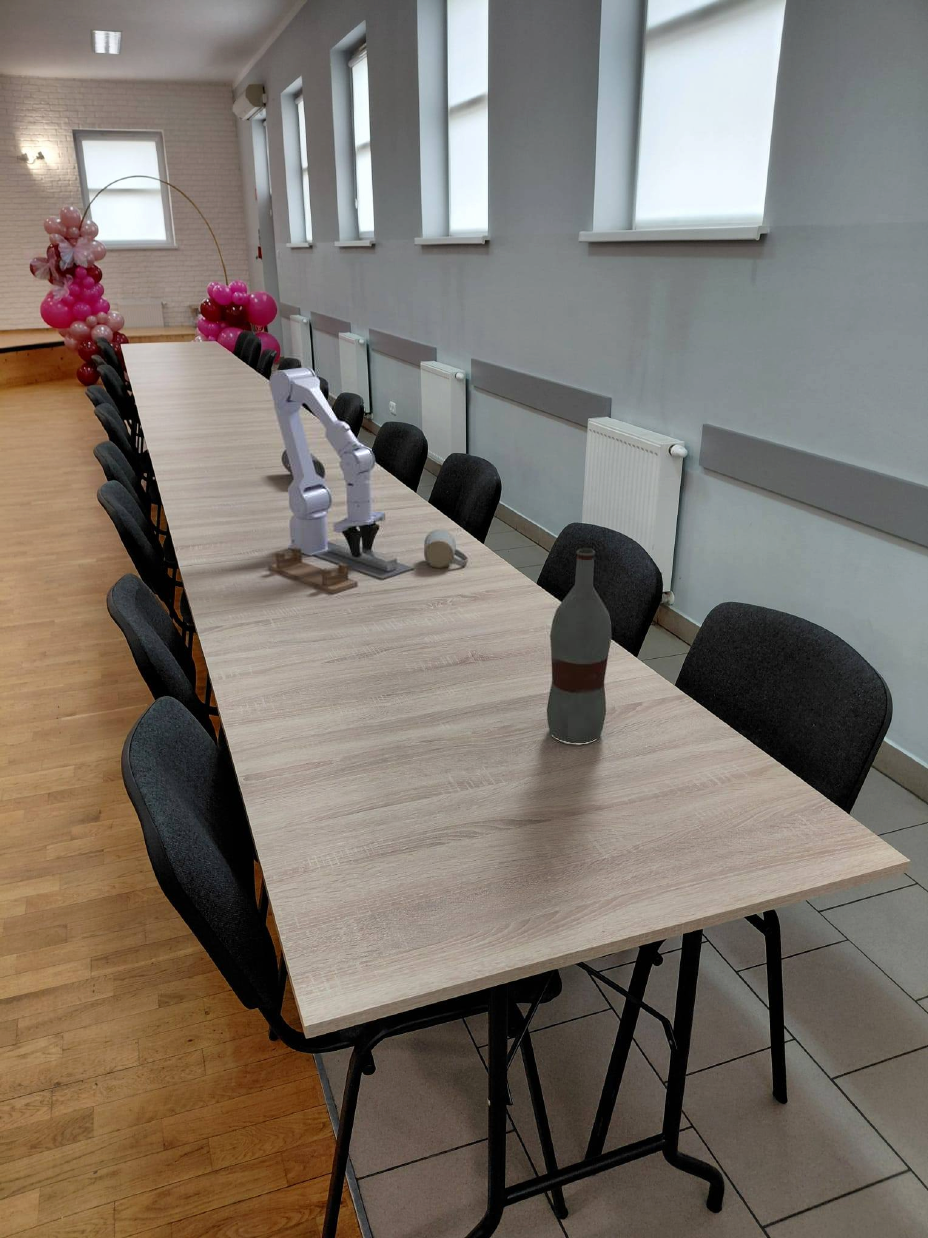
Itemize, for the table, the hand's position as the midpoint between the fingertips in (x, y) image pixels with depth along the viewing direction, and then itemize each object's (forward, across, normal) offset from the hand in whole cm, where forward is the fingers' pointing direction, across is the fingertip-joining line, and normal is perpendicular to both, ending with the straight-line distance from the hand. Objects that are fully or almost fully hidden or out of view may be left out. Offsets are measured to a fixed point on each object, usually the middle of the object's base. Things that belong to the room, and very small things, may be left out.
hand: (361, 554), depth 216 cm
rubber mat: (+2, 0, +1) cm, 2 cm away
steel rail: (+1, 0, 0) cm, 1 cm away
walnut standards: (+2, -15, 0) cm, 15 cm away
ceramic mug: (+2, +13, -15) cm, 20 cm away
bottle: (+2, -31, -87) cm, 92 cm away
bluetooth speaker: (+2, +40, +75) cm, 85 cm away
